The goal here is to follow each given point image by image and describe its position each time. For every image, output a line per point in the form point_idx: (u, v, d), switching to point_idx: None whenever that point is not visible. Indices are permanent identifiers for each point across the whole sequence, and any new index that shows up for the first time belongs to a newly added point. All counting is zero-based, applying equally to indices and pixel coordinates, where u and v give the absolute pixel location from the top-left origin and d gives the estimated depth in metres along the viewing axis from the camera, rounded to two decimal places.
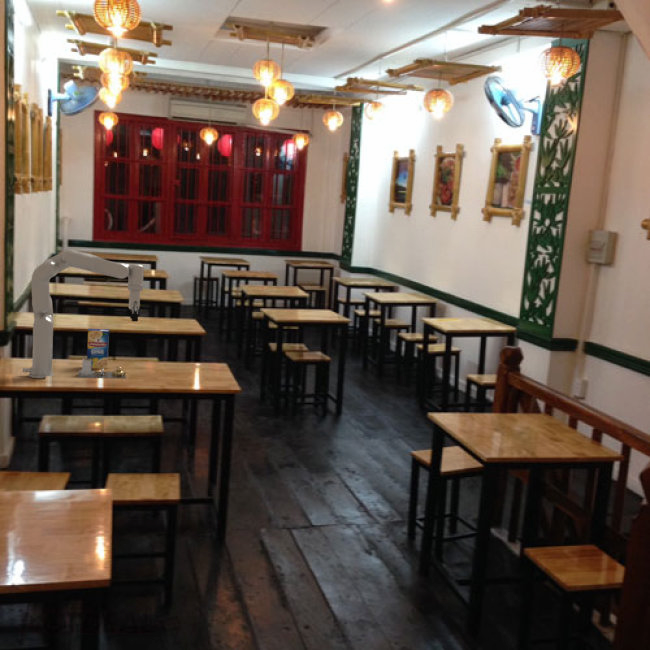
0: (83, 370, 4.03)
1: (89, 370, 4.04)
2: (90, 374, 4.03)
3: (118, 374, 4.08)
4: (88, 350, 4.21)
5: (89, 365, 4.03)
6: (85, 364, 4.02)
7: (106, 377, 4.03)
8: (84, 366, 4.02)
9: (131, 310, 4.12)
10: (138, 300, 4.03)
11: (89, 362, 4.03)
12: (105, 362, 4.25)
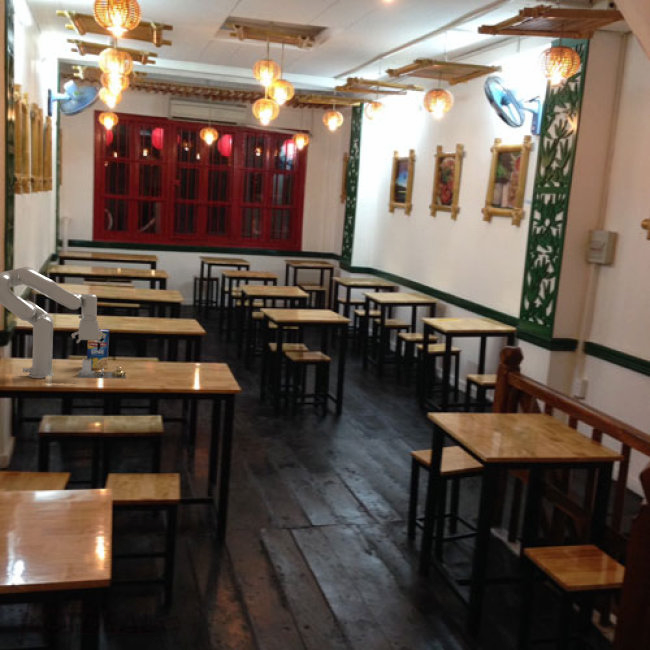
0: (83, 370, 4.03)
1: (89, 370, 4.04)
2: (90, 374, 4.03)
3: (118, 374, 4.08)
4: (88, 350, 4.21)
5: (89, 365, 4.03)
6: (85, 364, 4.02)
7: (106, 377, 4.03)
8: (84, 366, 4.02)
9: (78, 342, 4.01)
10: None
11: (89, 362, 4.03)
12: (105, 362, 4.25)
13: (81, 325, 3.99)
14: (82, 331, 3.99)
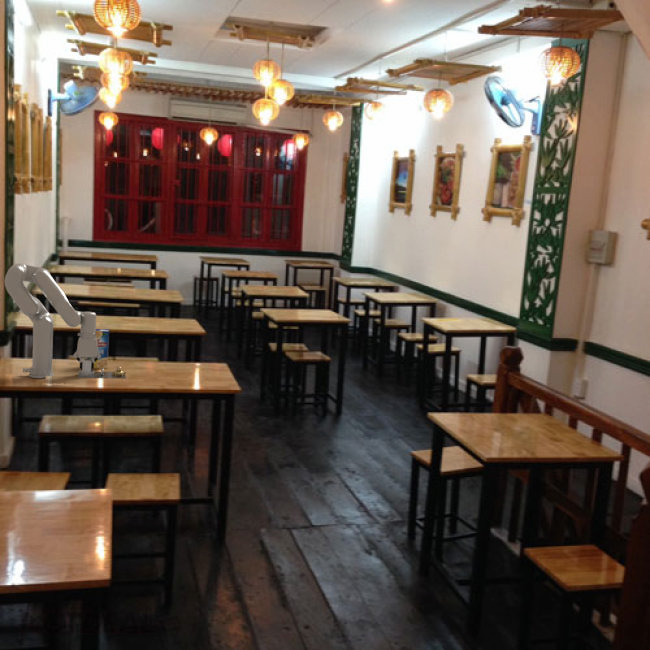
0: (83, 370, 4.03)
1: (89, 370, 4.04)
2: (90, 374, 4.03)
3: (118, 374, 4.08)
4: None
5: (89, 365, 4.03)
6: (85, 364, 4.02)
7: (106, 377, 4.03)
8: (84, 366, 4.02)
9: (81, 361, 4.03)
10: None
11: (89, 362, 4.03)
12: (105, 362, 4.25)
13: (80, 343, 4.00)
14: (80, 349, 4.00)
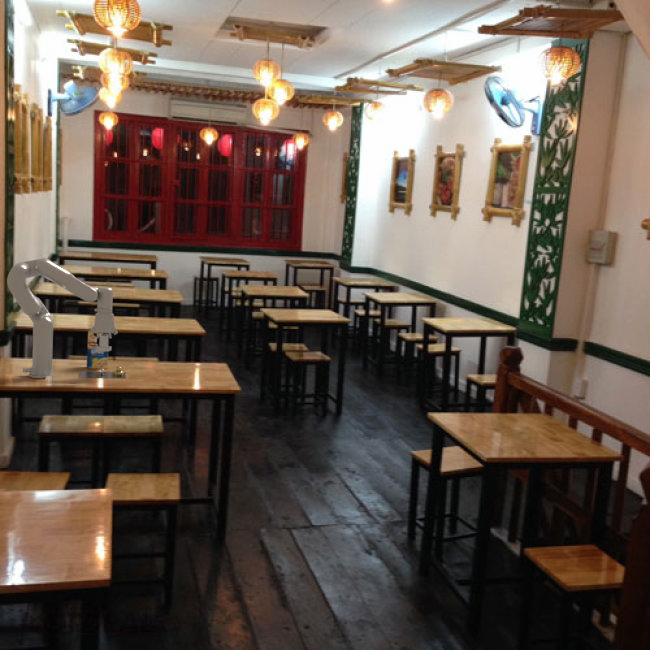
0: (100, 345, 4.03)
1: (106, 345, 4.04)
2: (107, 349, 4.04)
3: (118, 374, 4.08)
4: (88, 350, 4.21)
5: (106, 340, 4.04)
6: (102, 339, 4.03)
7: (106, 377, 4.03)
8: (101, 341, 4.03)
9: (98, 336, 4.04)
10: None
11: (106, 337, 4.04)
12: (105, 362, 4.25)
13: (97, 318, 4.01)
14: (97, 324, 4.01)
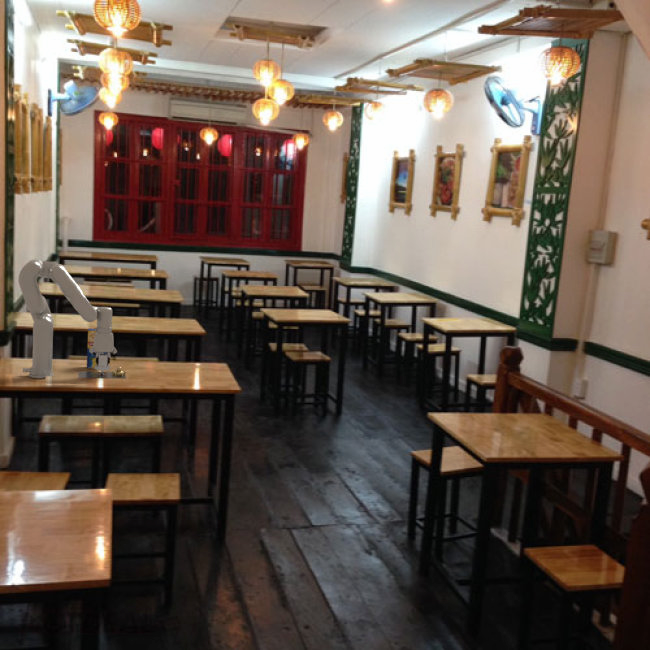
0: (99, 365, 4.05)
1: (105, 365, 4.06)
2: (106, 369, 4.06)
3: (118, 374, 4.08)
4: (88, 350, 4.21)
5: (105, 360, 4.05)
6: (101, 359, 4.05)
7: (106, 377, 4.03)
8: (100, 361, 4.05)
9: None
10: None
11: (105, 357, 4.05)
12: None
13: (96, 337, 4.02)
14: (96, 344, 4.02)
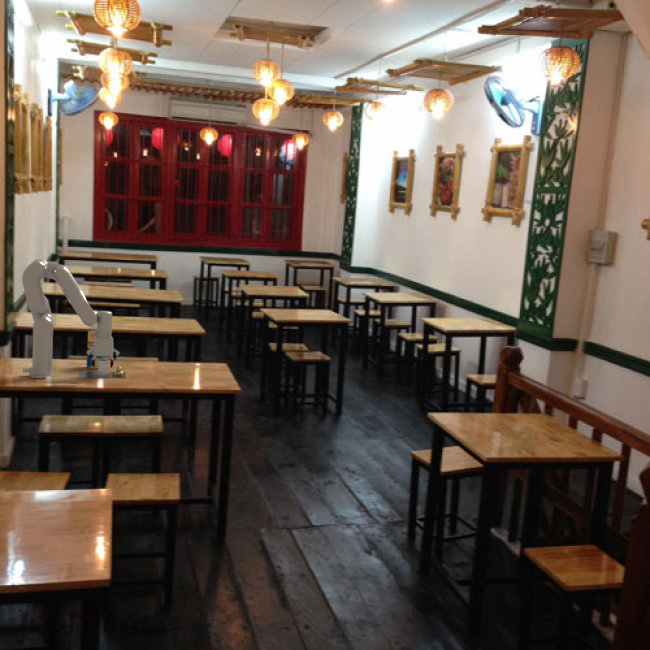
0: (99, 370, 4.05)
1: (105, 370, 4.06)
2: (106, 374, 4.06)
3: (118, 374, 4.08)
4: None
5: (105, 365, 4.06)
6: (101, 364, 4.05)
7: (106, 377, 4.03)
8: (100, 366, 4.05)
9: (94, 359, 4.04)
10: None
11: (105, 362, 4.05)
12: None
13: (96, 341, 4.02)
14: (96, 348, 4.02)
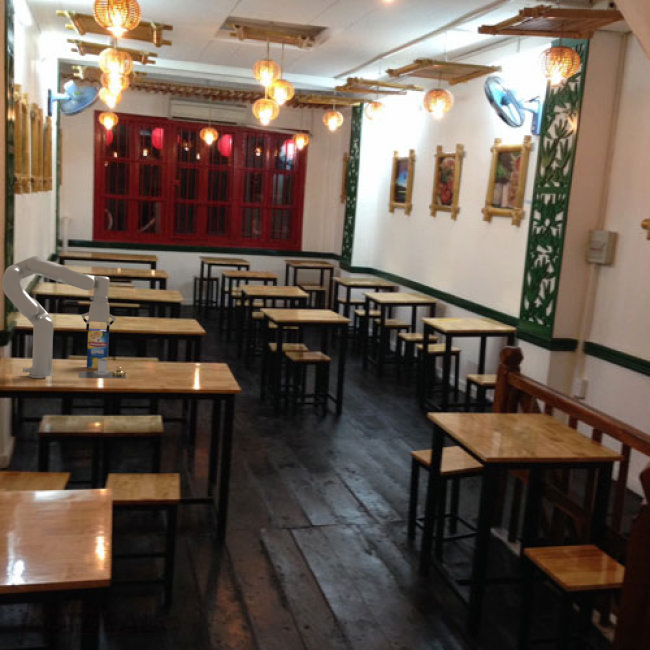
0: (99, 370, 4.05)
1: (105, 370, 4.06)
2: (106, 374, 4.06)
3: (118, 374, 4.08)
4: (88, 350, 4.21)
5: (105, 365, 4.06)
6: (101, 364, 4.05)
7: (106, 377, 4.03)
8: (100, 366, 4.05)
9: (88, 323, 4.03)
10: None
11: (105, 362, 4.05)
12: None
13: (92, 306, 4.00)
14: (92, 312, 4.01)
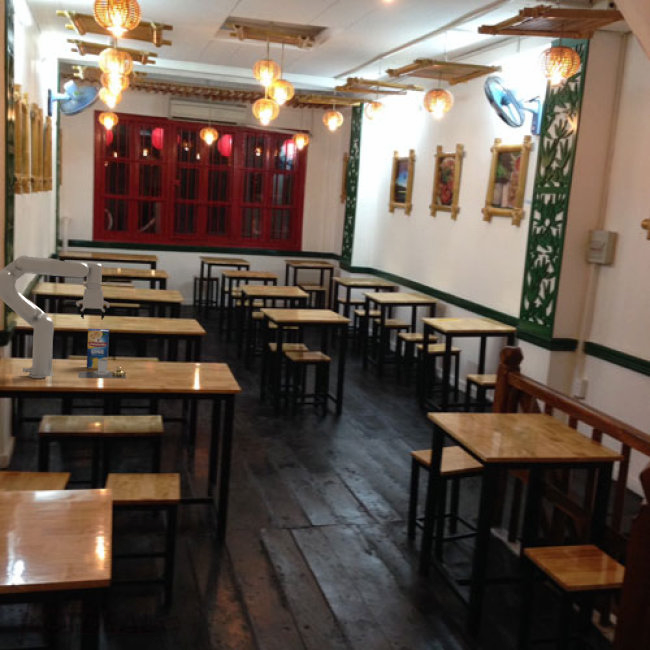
0: (99, 370, 4.05)
1: (105, 370, 4.06)
2: (106, 374, 4.06)
3: (118, 374, 4.08)
4: (88, 350, 4.21)
5: (105, 365, 4.06)
6: (101, 364, 4.05)
7: (106, 377, 4.03)
8: (100, 366, 4.05)
9: (83, 310, 4.03)
10: None
11: (105, 362, 4.05)
12: None
13: (86, 293, 4.01)
14: (86, 299, 4.01)
